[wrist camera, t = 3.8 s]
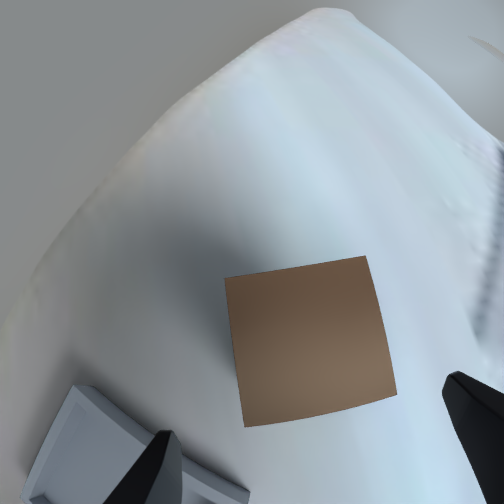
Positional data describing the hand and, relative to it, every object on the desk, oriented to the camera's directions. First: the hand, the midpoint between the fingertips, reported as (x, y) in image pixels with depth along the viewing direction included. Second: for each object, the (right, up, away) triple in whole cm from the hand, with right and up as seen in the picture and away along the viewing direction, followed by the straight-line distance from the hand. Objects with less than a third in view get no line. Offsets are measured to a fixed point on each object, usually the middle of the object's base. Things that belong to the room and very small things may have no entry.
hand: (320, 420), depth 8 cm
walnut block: (0, -2, +10) cm, 10 cm away
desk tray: (-11, -12, +6) cm, 17 cm away
